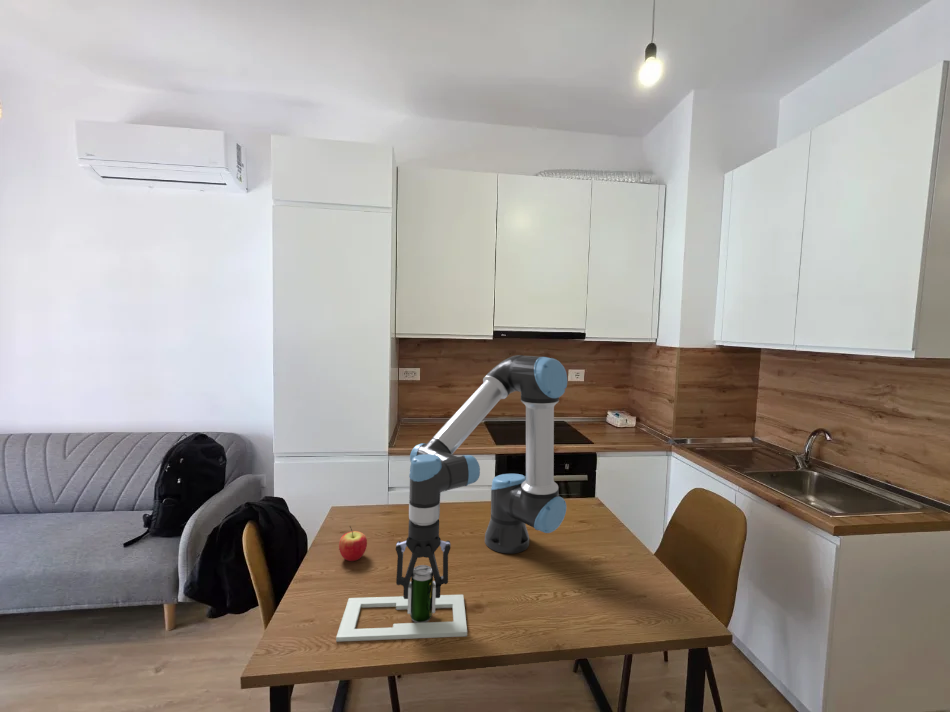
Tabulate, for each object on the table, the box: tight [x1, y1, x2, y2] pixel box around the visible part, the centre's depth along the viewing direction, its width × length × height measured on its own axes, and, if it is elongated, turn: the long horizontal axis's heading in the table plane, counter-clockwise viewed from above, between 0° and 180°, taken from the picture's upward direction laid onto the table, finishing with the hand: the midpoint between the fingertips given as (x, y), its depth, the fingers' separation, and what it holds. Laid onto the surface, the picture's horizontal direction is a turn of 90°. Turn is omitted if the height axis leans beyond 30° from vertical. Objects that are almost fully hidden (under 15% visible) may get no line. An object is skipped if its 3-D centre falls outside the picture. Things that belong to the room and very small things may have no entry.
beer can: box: [409, 564, 434, 623], centre depth 103 cm, size 5×5×12 cm
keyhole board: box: [335, 594, 468, 642], centre depth 102 cm, size 30×14×1 cm, turn 96°
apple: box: [338, 525, 368, 562], centre depth 128 cm, size 8×8×10 cm
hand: (421, 609), depth 103 cm, fingers closed on beer can, 5 cm apart
